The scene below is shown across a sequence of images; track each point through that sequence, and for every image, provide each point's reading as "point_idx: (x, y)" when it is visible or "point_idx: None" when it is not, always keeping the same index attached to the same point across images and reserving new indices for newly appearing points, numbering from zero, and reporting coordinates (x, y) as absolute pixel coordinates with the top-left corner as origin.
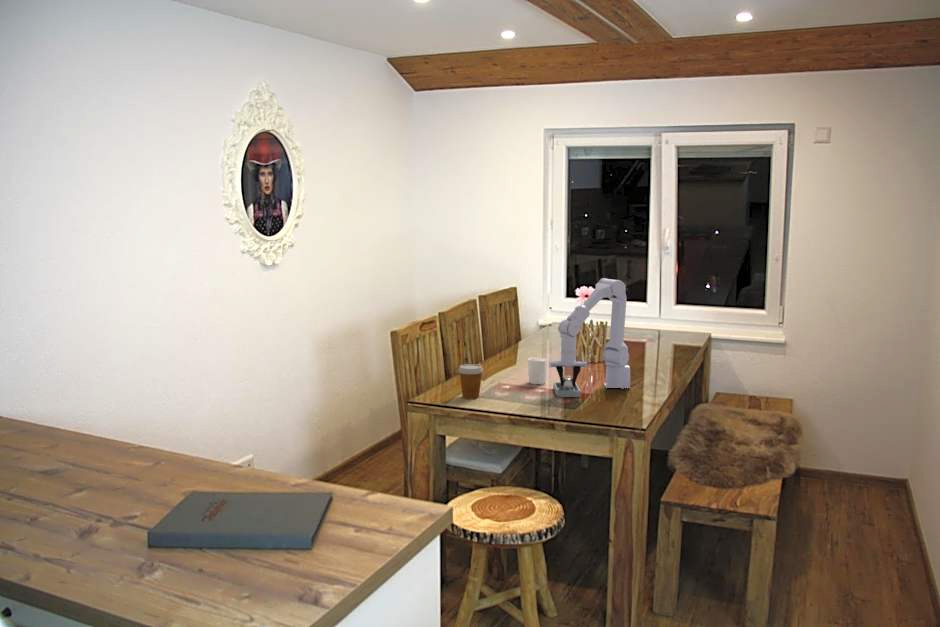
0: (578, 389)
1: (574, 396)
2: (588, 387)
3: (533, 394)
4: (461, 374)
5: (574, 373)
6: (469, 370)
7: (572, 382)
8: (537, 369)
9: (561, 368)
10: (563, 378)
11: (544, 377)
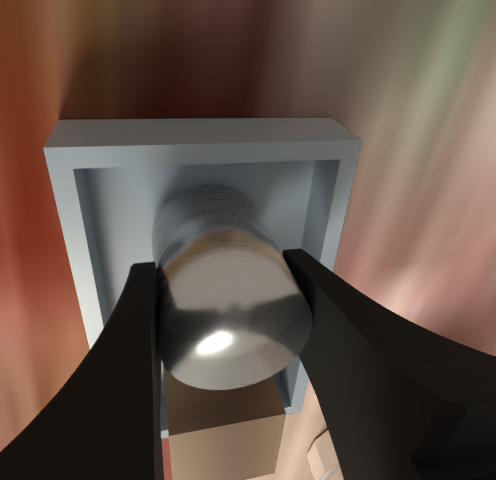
0: (79, 225)
1: (134, 120)
2: (8, 438)
3: (490, 197)
4: None
5: (145, 394)
6: None
7: (168, 284)
8: None
9: (446, 470)
10: (295, 349)
11: (336, 474)
